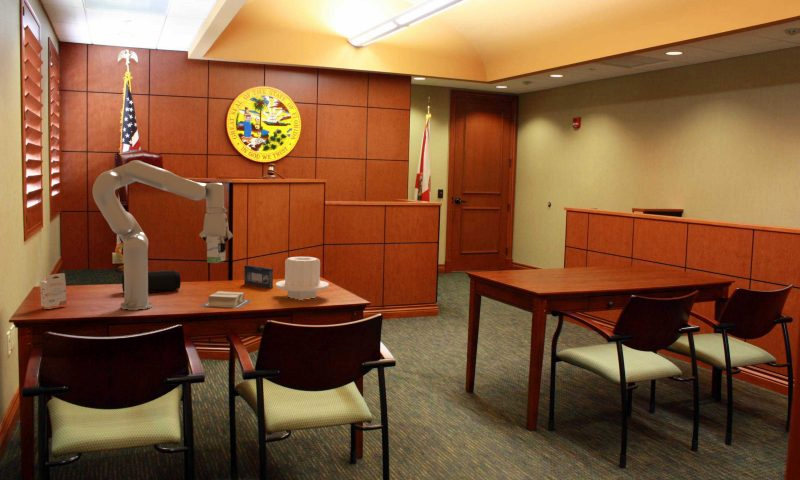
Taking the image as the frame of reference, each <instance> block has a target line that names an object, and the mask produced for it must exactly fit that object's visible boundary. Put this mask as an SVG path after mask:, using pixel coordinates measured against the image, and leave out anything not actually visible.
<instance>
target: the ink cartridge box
mask: <svg viewBox="0 0 800 480" xmlns="http://www.w3.org/2000/svg"><path fill="white" fill-rule="evenodd" d="M45 278H46V279H45V280H41V281H39V282H40V284H39V285H40V287H39V288H40V304H41V306H45V307H51V306H58V305H65V304H66V305H67V284H66V283H67V281H66V274H65V273H64V272H61V273H55V274H48V275H46V276H45Z"/></svg>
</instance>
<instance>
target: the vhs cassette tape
mask: <svg viewBox="0 0 800 480" xmlns="http://www.w3.org/2000/svg"><path fill="white" fill-rule="evenodd" d="M243 268H244V271H243V273H244V277H243V280H244V285H248V286H252V287H253V286H254V287H260V288H265V289H269V290H270V289H273V288H274V284H273V283H274V268H269V267H262V266H256V265H249V264H246V265H244V267H243Z"/></svg>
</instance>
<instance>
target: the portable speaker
mask: <svg viewBox="0 0 800 480" xmlns="http://www.w3.org/2000/svg"><path fill="white" fill-rule="evenodd" d="M121 287H122V292H123V293H124V273H123V274H122V275H121ZM180 288H181V274H180V272H179V271H176V270H173V269H172V270H155V271H153V270H152V271H149V270H148V293H161V292H174V291H177V290H179V289H180Z"/></svg>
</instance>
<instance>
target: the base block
mask: <svg viewBox="0 0 800 480" xmlns="http://www.w3.org/2000/svg"><path fill="white" fill-rule="evenodd" d="M244 300H245V292H242V291H225V290H218V291H216V292H214V293H212V294H210V295H209V296H208V301H209V305H215V306H232V307H235V306H237V305H239V304H240V303H242V302H244Z"/></svg>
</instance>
